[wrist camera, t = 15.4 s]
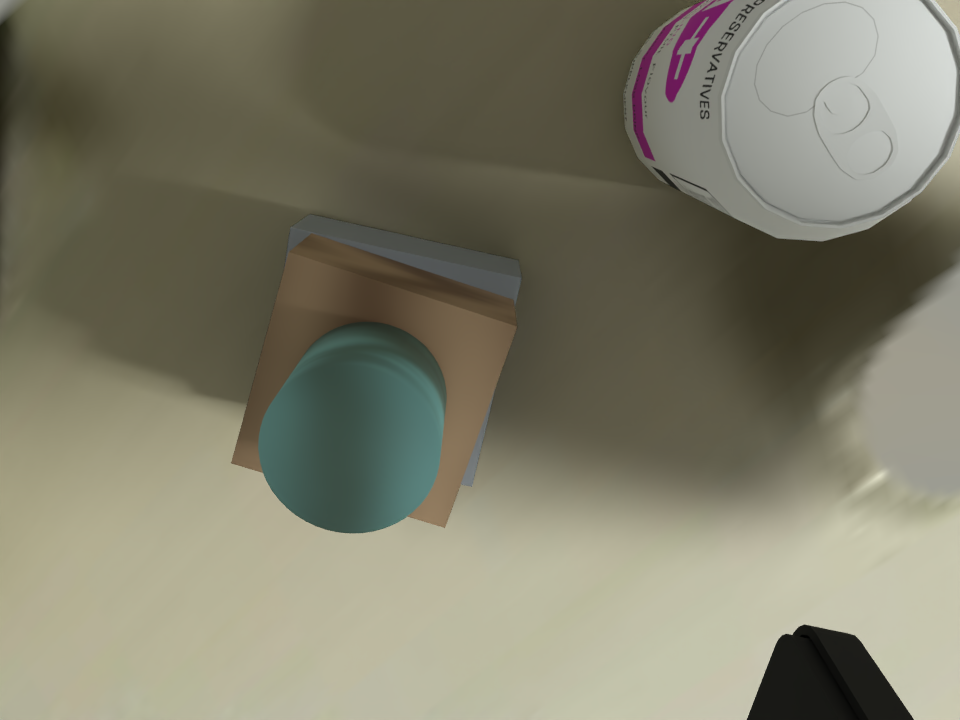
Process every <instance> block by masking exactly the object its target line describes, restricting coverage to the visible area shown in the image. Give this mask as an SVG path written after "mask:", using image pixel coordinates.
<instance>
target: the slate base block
mask: <svg viewBox="0 0 960 720" xmlns="http://www.w3.org/2000/svg"><path fill="white" fill-rule="evenodd" d="M311 233H313V234H316V235H319V236H322V237H325V238H328V239H331V240H334V241H337V242H340V243H343V244H346V245H349V246H352V247H355V248H358V249H361V250H364V251H367V252H370V253H373V254H376V255H379V256H382V257H386V258H389V259H392V260H395V261H398V262H401V263H404V264H407V265H410V266H413V267H416V268H419V269H422V270H425V271H428V272H431V273H434V274H437V275H440V276H443V277H446V278H449V279H452V280H455V281H458V282H461V283H464V284H467V285H470V286H473V287H476V288H480V289H483V290H486V291H489V292H492V293H495V294H498V295H501V296H504V297H507V298H510V299H513V300H514V306H515V305H516V301H517V296H518V292H519V288H520V284H521V280H522V276H521V271H520V266H519V261H518V260H515V259H511V258H506V257H501V256H497V255H492V254H488V253H483V252H479V251H474V250H470V249H465V248H461V247H456V246H452V245H447V244H443V243H438V242H434V241H429V240H424V239H420V238H415V237H411V236H406V235H402V234H397V233H393V232H388V231H384V230H379V229H375V228H370V227H366V226H361V225H357V224H352V223H348V222H343V221H338V220H334V219H329V218H325V217H320V216H316V215H311V214H309V215H308V216H306V217H305V218H304V219H302V220H301V221H299V222H298V223H296V224H295V225H293V226H292V227H290V233H289V240H288V246H287V253H286V259H285V264H286V260H287V257H288V253H289V251H291V250H292V249H293V248H294V247H295V246H297V245H298V244H299V243H300V242H302V241H303V240H304V239H305V238H306V237H308V236H309V235H310V234H311ZM284 268H285V265H284ZM494 392H495V390H494ZM493 397H494V393H493V396H492V399H491V402H490V404H489V407H488V410H487V413H486V415H485V418H484V421H483V424H482V427H481V429H480V432H479V435H478V438H477V440H476V443H475V446H474V449H473V452H472V454H471V457H470V460H469V463H468V465H467V468H466V471H465V474H464V476H463V479H462V482H461V485H466V486H471V487H472V484H473V480H474V476H475V472H476V468H477V463H478V459H479V455H480V451H481V447H482V443H483V438H484V434H485V430H486V426H487V422H488V417H489V413H490V409H491V405H492V401H493Z"/></svg>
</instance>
